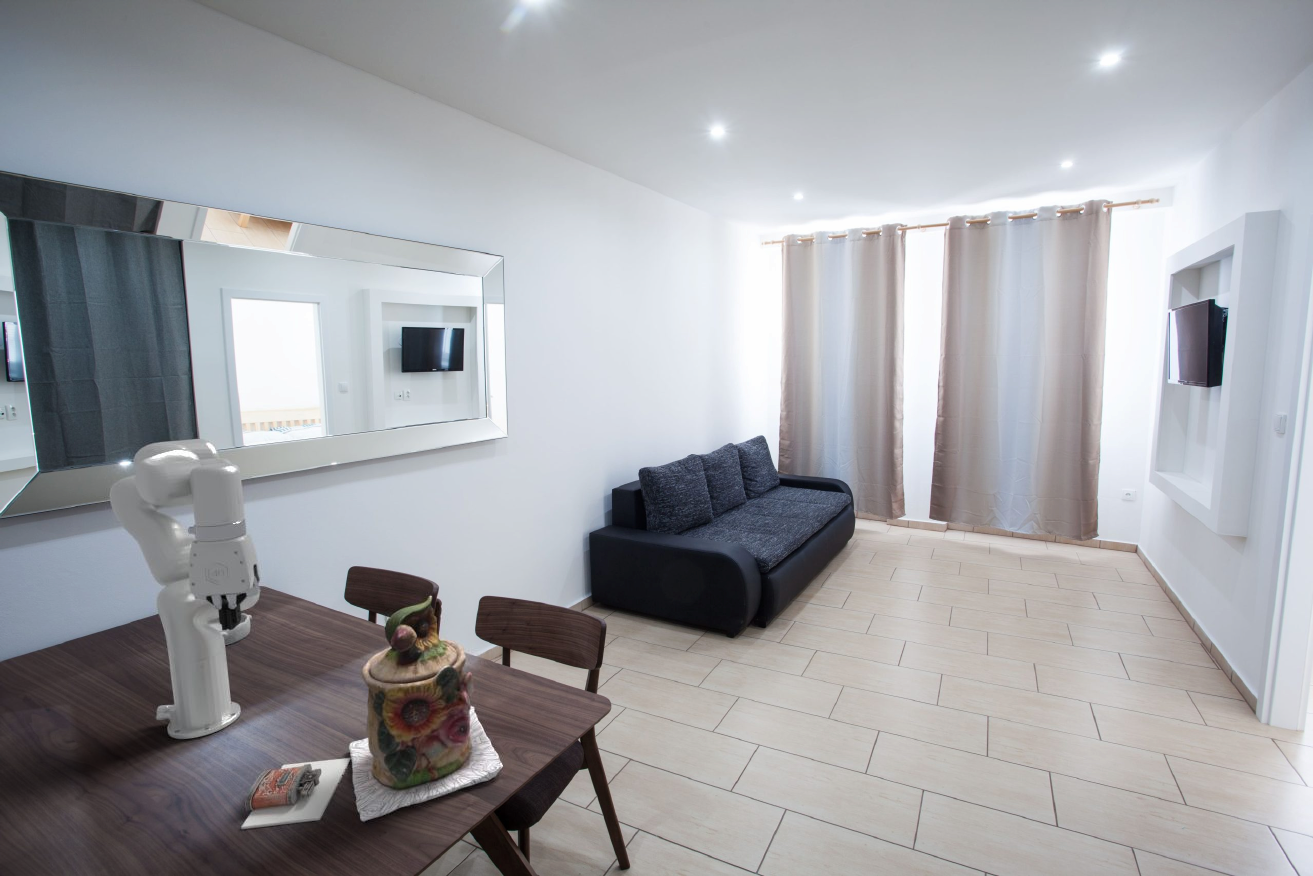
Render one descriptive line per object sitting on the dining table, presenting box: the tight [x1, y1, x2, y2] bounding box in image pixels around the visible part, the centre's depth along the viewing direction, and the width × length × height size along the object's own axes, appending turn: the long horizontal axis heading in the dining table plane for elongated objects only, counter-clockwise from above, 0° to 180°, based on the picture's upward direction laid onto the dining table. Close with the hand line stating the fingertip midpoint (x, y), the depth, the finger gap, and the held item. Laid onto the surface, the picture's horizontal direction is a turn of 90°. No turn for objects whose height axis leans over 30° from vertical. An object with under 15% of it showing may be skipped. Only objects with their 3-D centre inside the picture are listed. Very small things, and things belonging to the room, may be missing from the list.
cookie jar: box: [348, 595, 504, 822], centre depth 117 cm, size 25×25×32 cm
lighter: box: [244, 764, 322, 812], centre depth 110 cm, size 8×3×10 cm
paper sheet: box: [240, 757, 352, 830], centre depth 111 cm, size 12×16×1 cm
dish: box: [207, 612, 253, 646], centre depth 174 cm, size 14×14×5 cm
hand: (231, 626), depth 116 cm, fingers closed
